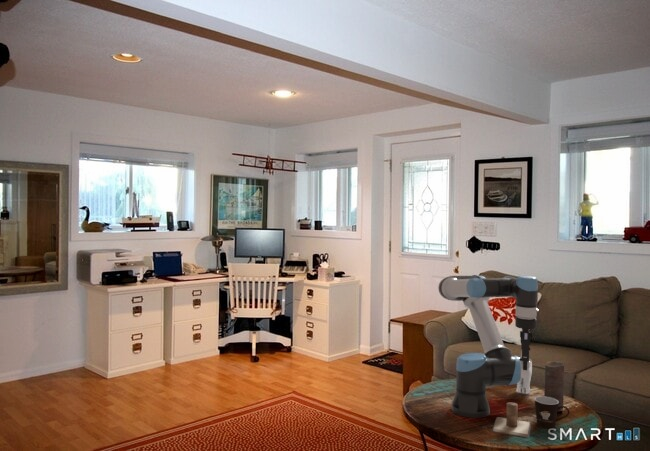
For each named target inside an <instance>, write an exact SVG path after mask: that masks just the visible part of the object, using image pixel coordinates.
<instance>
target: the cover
mask: <svg viewBox="0 0 650 451" xmlns="http://www.w3.org/2000/svg"><path fill="white" fill-rule="evenodd" d="M518 406H519V405H518V403H516V402H511V401H509V402H506V417H500V416H497V417H496V418H495V420H496V422H495V421H494V423H495V425H494V424H493V426H494V428H493V427H492V429H493V431H496V432H495V433H498V432H502V433H501V434H503V433H507V434H506V435H509V434H513V435H512V436H515V435H519V436H518V437H521V436H525V437H524V438H526V437H528V432H529V426H530V424H531V422H530V421H524V420H518V417H519V416H518V411H519V410H518V408H519V407H518Z"/></svg>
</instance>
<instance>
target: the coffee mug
mask: <svg viewBox="0 0 650 451" xmlns="http://www.w3.org/2000/svg"><path fill="white" fill-rule="evenodd" d="M533 401H534V407H535V408H534V409H535V416H536V417H535V419H536V425H538V427H540V428H544V429H554V428H555V427H556V423H557V422H558V421H561V420H563V419H565V418H566V417H568V416H569V415H570V409H569V407H567V406H565V405H563V406H560V407H558V404H559V401H558V400H556V399H554V398H551V397H545V396H543V395H542V396H541V395H540V396H539V395H538V396H536V397H534V399H533ZM560 408H563V409H565V410H567V414H565V415H564V416H561V417H559V418H557V417H558V416H557V415H558V412H559V411H558V410H559V409H560Z"/></svg>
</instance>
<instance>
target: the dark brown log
mask: <svg viewBox="0 0 650 451" xmlns="http://www.w3.org/2000/svg"><path fill="white" fill-rule="evenodd" d="M544 366H545V369H544V370H545V372H544V396H545V397H551V398H554V399H556V400H558V401H559V404H558V407H560V406H564V388H565V387H564V384H565V363H564V362H563V361H562V362H561V361H546V362H545V365H544ZM561 411H564V408H560V409H559V410H558V411H557V412H561Z"/></svg>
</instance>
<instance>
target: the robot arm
mask: <svg viewBox="0 0 650 451" xmlns="http://www.w3.org/2000/svg"><path fill="white" fill-rule="evenodd" d="M438 283H439V284H438V286H437V288H438V292H439V294H440V296H441V297H442V298H444V299H446V300H448V301H453V302H461V301H462V302H463V305H464V307H465V308H468V309H469V312H470V314H471V318H472V320H473V323H474V326H475V329H476V332H477V334H478V337H479V340H480V343H481V345H482V349H483V352H484V353H482V352H475V351H474V352H467V353H463V354H461V355H460V354H459V356H458V357H457V359H456V364H455V369H456V371H455V372H456V373H455V377H456V378H455V379H456V381H455V383H456V386H455V387H456V388H455V394H454V397H453V399H452V403H451V412H452V413H454V414H455V415H457V416H460V417H465V418H470V419H471V418H472V419H474V418H475V419H479V418H480V419H481V418H485V417H487V416H490V413H491V410H490V409H491V408H490V405H489V400H488V398H487V395H486V391H487V390H486V388H487V387H497V386H512V385H514V386H515V385H517V383H518V382H519V381H520V379H521V378H526V379H529V359H530V351H531V347H530V345H531V340H532V332H531V331H530V330H535V329H537V327H538V326H537V323H538V319H537V314H538V312H539V308H538V296H539V295H538V294H539V285H538V283H539V282H538V278H537V277H536V276H532V275H518V276H517V277H515V276H509V275H507V276H504V277H485V276H483V275H476V274H473V275H449V276H446V277H444V278H443V279H441V280H440V282H438ZM490 298H514V299H515V313H514V314H515V321H514V323H515V324H514V325H515V327H516V328H517V329H521V330H519V338H520V344H521V345H520V346H521V347H520V357H519V356H517V355H512V352H511V349H510V348H508V347H506V346H505V344H504V341H503V339H502V337H501V334H500V332H499V328H498V326H497V323H496V321H495V318H494V316H493V314H492V311H491V308H490V306H489V301H490ZM519 358H520V359H519Z"/></svg>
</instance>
